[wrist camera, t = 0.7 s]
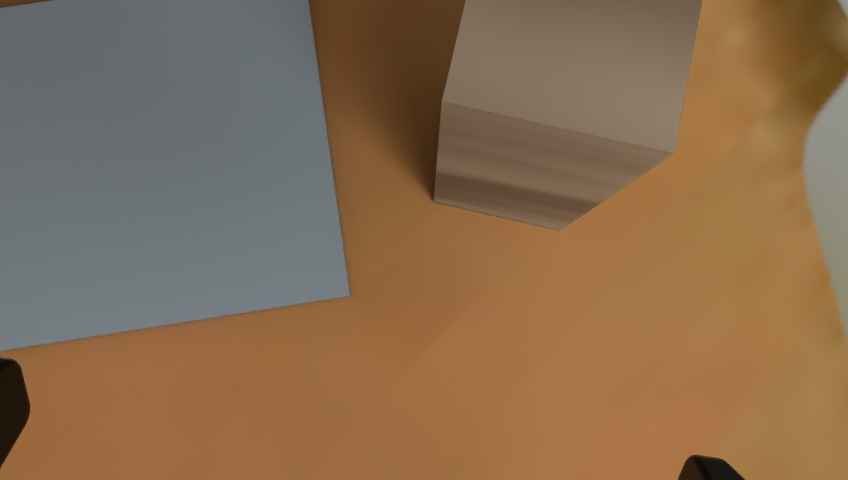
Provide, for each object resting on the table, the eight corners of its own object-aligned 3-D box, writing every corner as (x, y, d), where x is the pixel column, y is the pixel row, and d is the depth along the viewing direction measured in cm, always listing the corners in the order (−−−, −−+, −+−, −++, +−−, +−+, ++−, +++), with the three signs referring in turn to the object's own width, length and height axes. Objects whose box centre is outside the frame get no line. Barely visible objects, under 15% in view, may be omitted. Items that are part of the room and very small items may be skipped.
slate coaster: (351, 296, 21) (349, 295, 21) (0, 351, 21) (-12, 352, 20) (305, -27, 23) (302, -37, 22) (-22, 21, 23) (-34, 12, 22)
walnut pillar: (559, 230, 22) (673, 152, 12) (433, 202, 22) (441, 101, 12) (584, 109, 22) (713, -63, 12) (461, 82, 22) (491, -109, 12)
